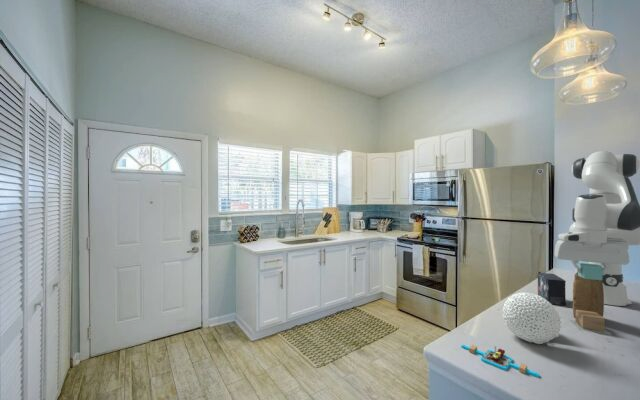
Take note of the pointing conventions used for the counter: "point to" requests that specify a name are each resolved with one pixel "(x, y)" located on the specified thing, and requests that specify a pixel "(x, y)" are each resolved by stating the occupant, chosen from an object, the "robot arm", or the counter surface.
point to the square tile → (589, 330)
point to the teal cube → (590, 271)
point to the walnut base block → (590, 320)
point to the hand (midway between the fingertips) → (589, 273)
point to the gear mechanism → (497, 358)
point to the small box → (552, 288)
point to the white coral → (531, 317)
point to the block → (588, 295)
